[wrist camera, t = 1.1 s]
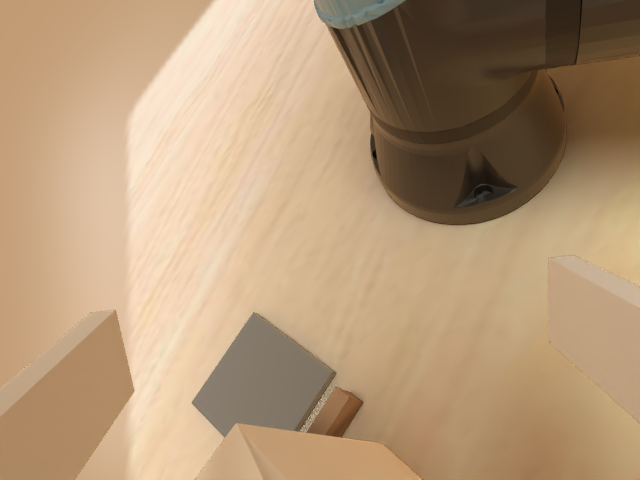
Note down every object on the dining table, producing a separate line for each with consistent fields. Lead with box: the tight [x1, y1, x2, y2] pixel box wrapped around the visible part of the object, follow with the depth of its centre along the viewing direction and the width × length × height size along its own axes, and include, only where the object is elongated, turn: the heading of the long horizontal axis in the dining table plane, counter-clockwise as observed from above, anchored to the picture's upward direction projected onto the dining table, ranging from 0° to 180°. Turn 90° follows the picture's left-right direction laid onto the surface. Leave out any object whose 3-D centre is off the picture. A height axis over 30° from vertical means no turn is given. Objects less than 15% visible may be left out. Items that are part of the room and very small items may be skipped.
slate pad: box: [192, 312, 336, 437], centre depth 38 cm, size 9×9×1 cm
